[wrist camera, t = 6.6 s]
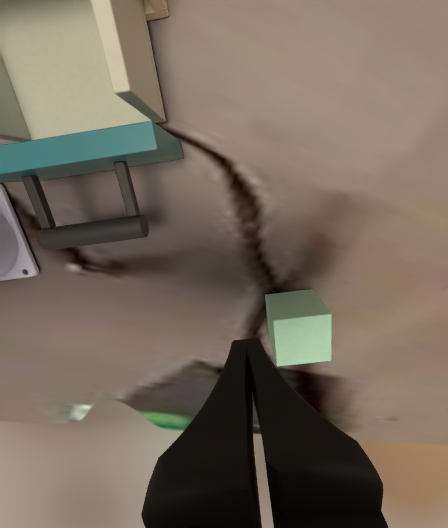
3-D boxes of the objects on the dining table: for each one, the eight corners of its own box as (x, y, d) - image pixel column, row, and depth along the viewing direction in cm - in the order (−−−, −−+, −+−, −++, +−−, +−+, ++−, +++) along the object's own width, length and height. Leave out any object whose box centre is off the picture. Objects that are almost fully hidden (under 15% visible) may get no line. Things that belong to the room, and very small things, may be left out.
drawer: (194, 219, 20) (177, 242, 13) (58, 238, 21) (-26, 270, 14) (136, -102, 14) (49, -371, 7) (-53, -61, 15) (-304, -271, 8)
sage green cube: (268, 334, 25) (276, 366, 20) (264, 294, 23) (273, 320, 19) (313, 329, 24) (331, 360, 20) (312, 288, 23) (331, 313, 19)
